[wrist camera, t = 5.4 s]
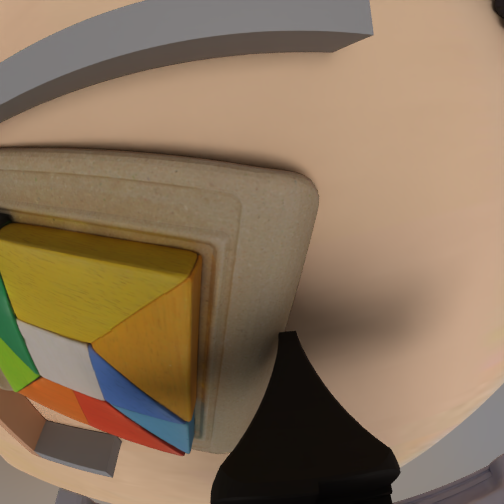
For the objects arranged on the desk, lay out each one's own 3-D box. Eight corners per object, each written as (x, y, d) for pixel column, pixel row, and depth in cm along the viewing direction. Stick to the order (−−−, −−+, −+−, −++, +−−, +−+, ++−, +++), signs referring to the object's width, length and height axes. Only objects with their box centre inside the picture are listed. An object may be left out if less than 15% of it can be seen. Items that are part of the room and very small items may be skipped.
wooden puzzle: (-59, 150, 9) (-104, 172, 6) (321, 165, 10) (353, 199, 7) (12, 377, 17) (-6, 409, 14) (249, 431, 19) (249, 475, 15)
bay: (313, 443, 19) (319, 484, 16) (43, 424, 20) (32, 454, 17) (329, 19, 7) (366, -12, 4) (-94, 163, 8) (-130, 184, 5)
